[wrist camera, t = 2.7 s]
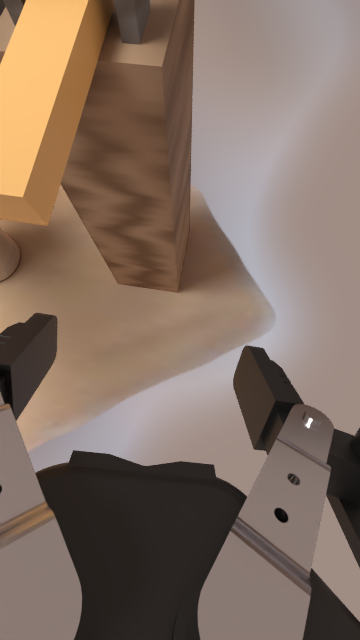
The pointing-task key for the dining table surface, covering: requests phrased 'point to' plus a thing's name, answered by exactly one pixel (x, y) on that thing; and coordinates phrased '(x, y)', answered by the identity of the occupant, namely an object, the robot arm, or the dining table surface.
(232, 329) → the dining table surface
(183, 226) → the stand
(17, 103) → the block
